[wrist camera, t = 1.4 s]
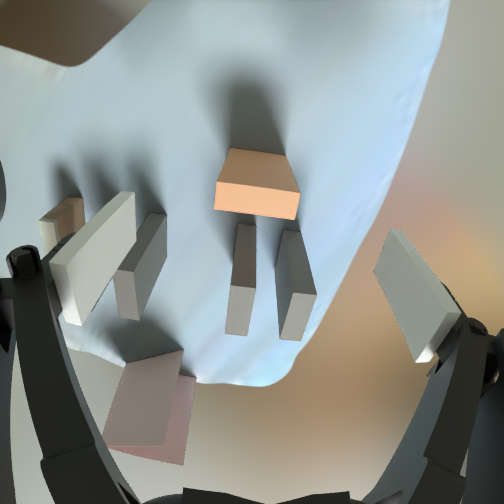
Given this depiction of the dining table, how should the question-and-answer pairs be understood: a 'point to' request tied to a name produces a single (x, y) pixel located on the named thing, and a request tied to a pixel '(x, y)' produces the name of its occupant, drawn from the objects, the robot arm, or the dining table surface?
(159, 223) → the domino
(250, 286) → the domino
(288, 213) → the orange rectangular block
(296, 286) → the domino
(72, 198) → the block
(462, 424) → the robot arm
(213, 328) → the dining table surface
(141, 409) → the greeting card
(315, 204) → the dining table surface
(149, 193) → the dining table surface
